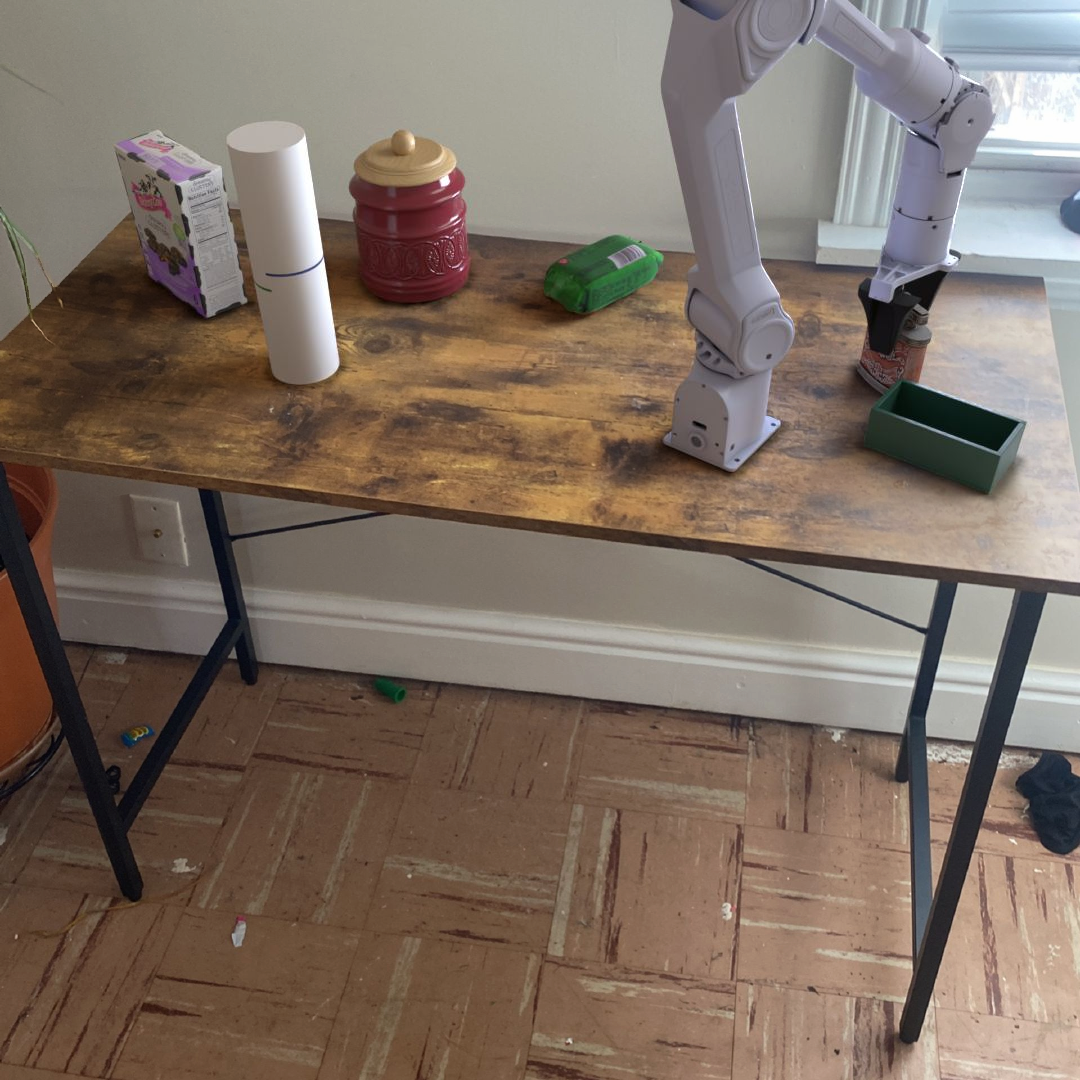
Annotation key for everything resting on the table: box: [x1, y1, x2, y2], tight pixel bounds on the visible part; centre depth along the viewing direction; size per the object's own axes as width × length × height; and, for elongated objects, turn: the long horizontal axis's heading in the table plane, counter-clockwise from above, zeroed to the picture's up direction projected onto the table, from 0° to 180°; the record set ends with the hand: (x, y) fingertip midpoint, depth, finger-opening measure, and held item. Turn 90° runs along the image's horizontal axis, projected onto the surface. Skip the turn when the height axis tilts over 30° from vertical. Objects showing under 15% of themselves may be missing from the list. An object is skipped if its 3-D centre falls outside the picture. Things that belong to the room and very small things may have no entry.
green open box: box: [862, 377, 1028, 495], centre depth 111 cm, size 6×12×4 cm, turn 53°
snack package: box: [542, 234, 665, 316], centre depth 134 cm, size 7×16×5 cm, turn 131°
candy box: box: [113, 129, 248, 319], centre depth 132 cm, size 14×6×16 cm, turn 42°
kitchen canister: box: [348, 129, 471, 304], centre depth 133 cm, size 13×13×18 cm
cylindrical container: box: [226, 120, 340, 386], centre depth 117 cm, size 7×7×25 cm
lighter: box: [856, 292, 933, 396], centre depth 118 cm, size 8×3×10 cm, turn 25°
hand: (897, 334), depth 117 cm, fingers open, 7 cm apart
